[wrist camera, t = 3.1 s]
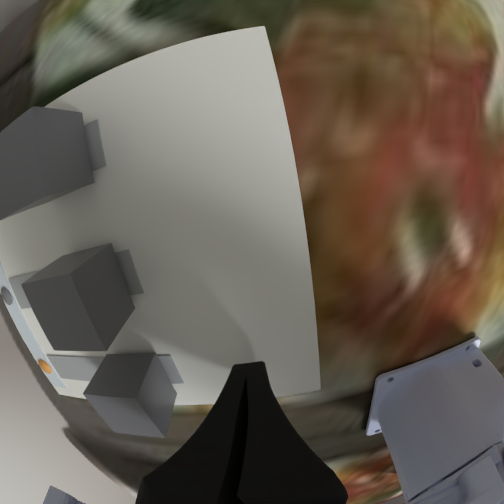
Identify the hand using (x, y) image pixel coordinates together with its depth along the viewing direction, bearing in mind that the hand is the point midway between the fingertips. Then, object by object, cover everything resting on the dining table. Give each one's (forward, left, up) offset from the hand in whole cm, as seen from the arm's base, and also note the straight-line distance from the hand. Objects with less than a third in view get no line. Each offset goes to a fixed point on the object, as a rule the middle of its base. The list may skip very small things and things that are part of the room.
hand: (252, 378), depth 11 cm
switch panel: (+6, -5, -3) cm, 9 cm away
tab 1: (+6, 0, -1) cm, 6 cm away
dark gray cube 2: (+6, -5, -1) cm, 8 cm away
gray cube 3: (+6, -11, -1) cm, 13 cm away
